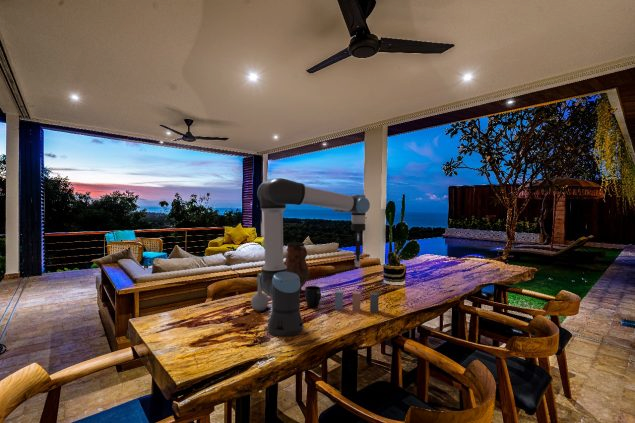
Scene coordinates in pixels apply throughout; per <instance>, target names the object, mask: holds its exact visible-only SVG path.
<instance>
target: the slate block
mask: <svg viewBox="0 0 635 423" xmlns="http://www.w3.org/2000/svg"><path fill="white" fill-rule="evenodd" d="M343 309H344V290H338V289H336V290H335V291H334V311H343Z"/></svg>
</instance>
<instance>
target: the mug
mask: <svg viewBox="0 0 635 423" xmlns="http://www.w3.org/2000/svg"><path fill="white" fill-rule="evenodd" d="M321 292H322V291H321V287H320V286H316V285H308V286H305V288H304V296H305V302H306V306H307V307H308V308H317V307H318V306H319V304H320V301H321V300H322V293H321Z"/></svg>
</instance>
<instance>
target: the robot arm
mask: <svg viewBox="0 0 635 423" xmlns="http://www.w3.org/2000/svg"><path fill="white" fill-rule="evenodd" d="M256 194H257V198H258V201H259V203H260V205H259V206H260V210H261V211H262V213H263V229H264V234H263V235H264V264H263V266H262V267H261V273H262V274H261V275H260V278H259V284H260V287H261V289H262V293H264V294H266V295H267V296H269V297H270V298H271V307H272V308H271V314H270V317H269V320H268V322H267V332H268V333H269V334H270V335H273V336H276V337H284V338H285V337H287V338H288V337H293V336H297V335H299V334H301V333H302V332H303V330H304V322H303V319H302V318H303V317H302V315H301V312H300V303H301V302H300V299H301V297H300V296H301V294H300V278H299V276H298V275H297V274H295V273H290V272H287V266H286V265H285V264H284V263H285V262H284V221H283V220H284V217H283V216H284V215H283V213H284V212H285V210H286V209H287V207H286V206H287V205H295V206H301V205H302V204H304V205H309V206H313V207H314V206H316V207H321V208H327V209H332V210H333V212H334V213H351V217H350V218H351V226H350V227H351V231H355V233H354V243H355V252H354V253H353V254H354V258H355V259H354V261H355V262H354V266H355V267H356V268H361V255H362V252H361V243H362V237H363V234H362V233H361V232H362V231H363V232H365V231H366V219H368V218H367V216H366V214H367V212H368V211H369V210H370V207H371V202H370V201H369V199H368V198H367V197H366V195H365V194H352V195H348V194H343V193H339V192H333V191H330V190H329V191H328V190H323V189H319V188H314V187H310V186H306V185H305V184H304V183H303V182H296V181H295V180H289V179H286V178H280V177H279V178H272V179H267V180H265V181H263V182H262V183H260V184H259V186H258V188H257V193H256Z"/></svg>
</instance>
